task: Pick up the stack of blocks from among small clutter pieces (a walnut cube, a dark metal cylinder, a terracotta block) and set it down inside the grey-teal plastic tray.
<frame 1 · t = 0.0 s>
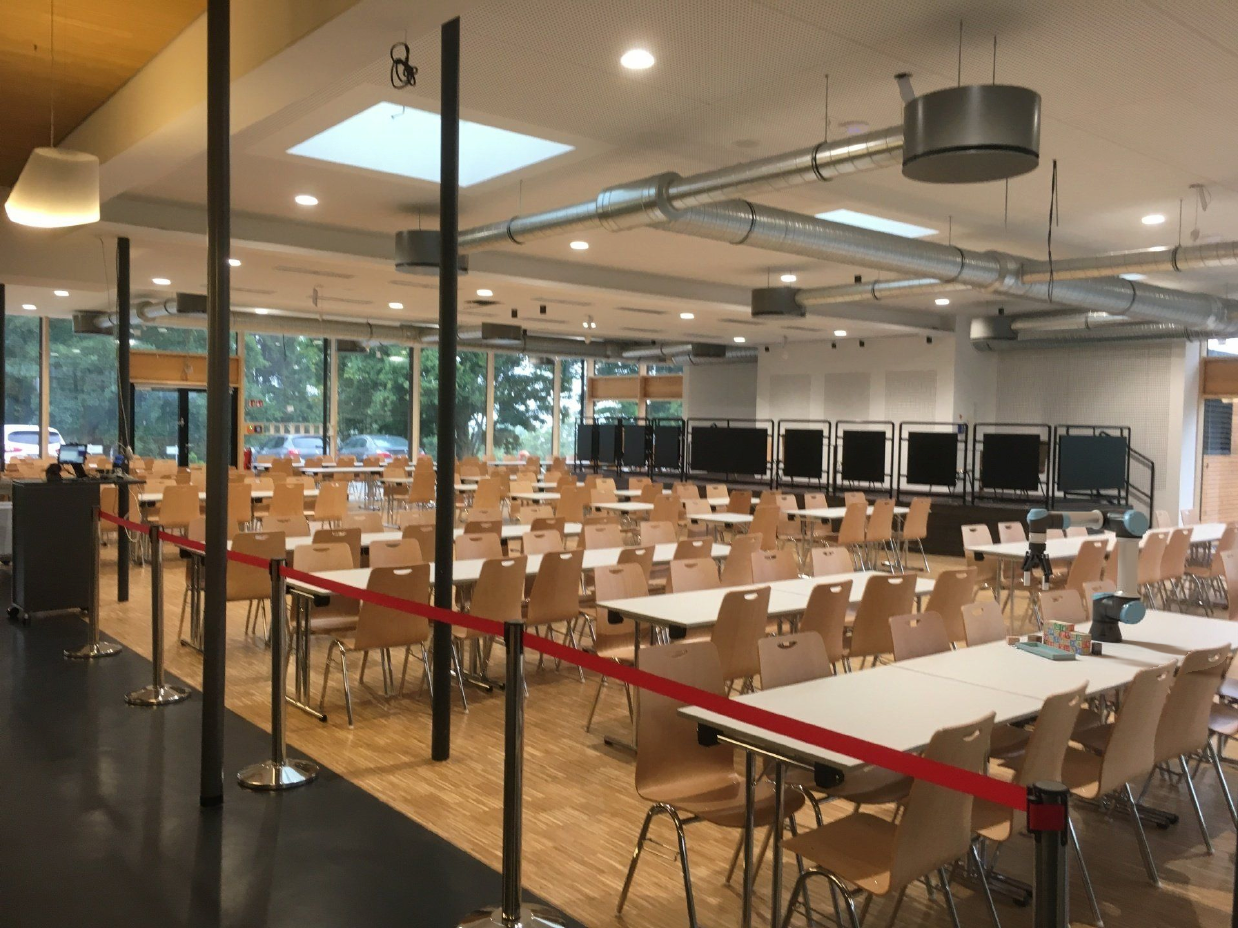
hand: (1036, 587, 456), 28 cm above the table, fingers open, 13 cm apart
stack of blocks: (1066, 650, 453), on the table
metal cylinder: (1096, 654, 445), on the table
walnut cube: (1034, 645, 463), on the table
tray: (1044, 653, 444), on the table
terracotta block: (1012, 645, 462), on the table
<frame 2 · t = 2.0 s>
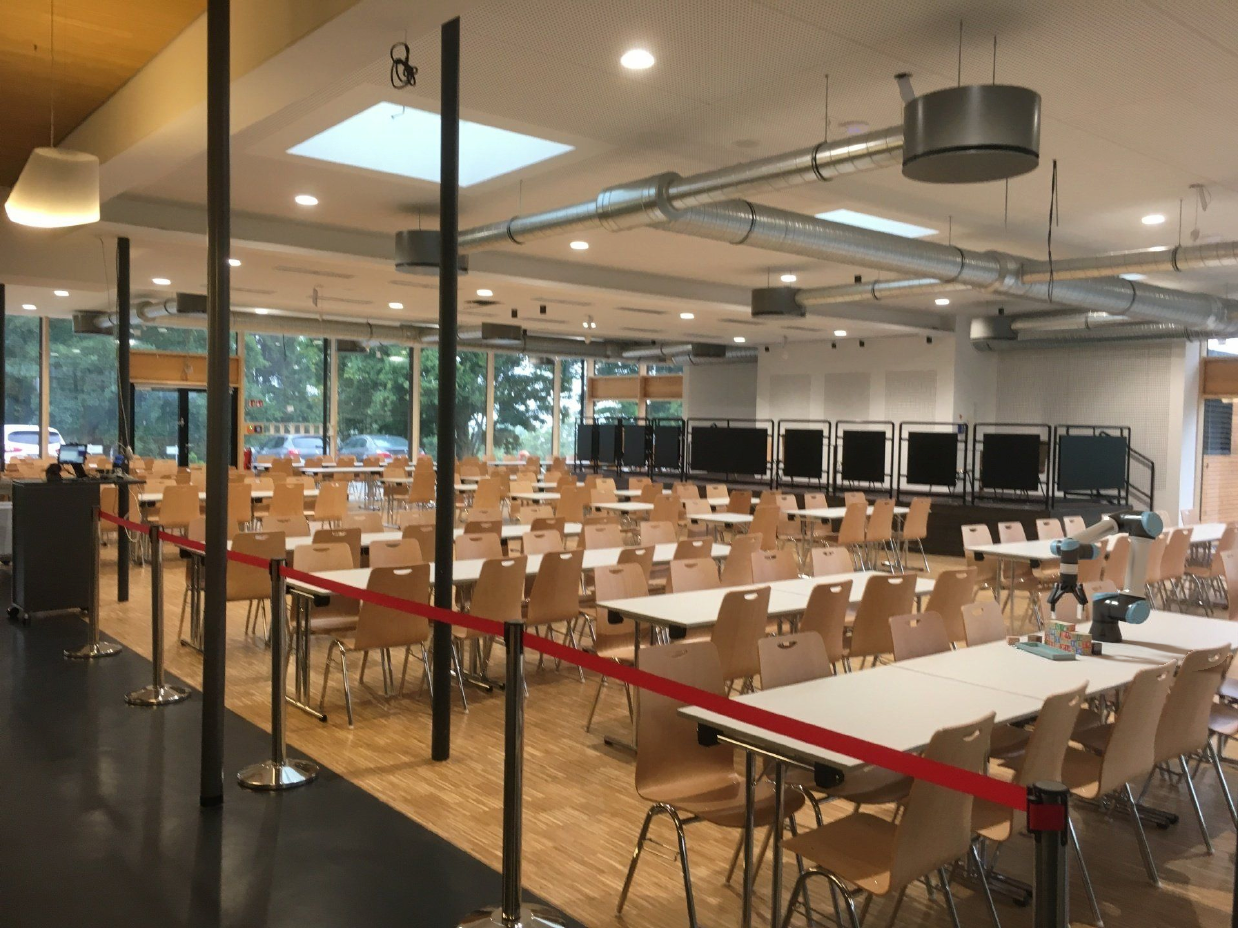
hand: (1066, 618, 453), 14 cm above the table, fingers open, 13 cm apart
nothing on the table moved.
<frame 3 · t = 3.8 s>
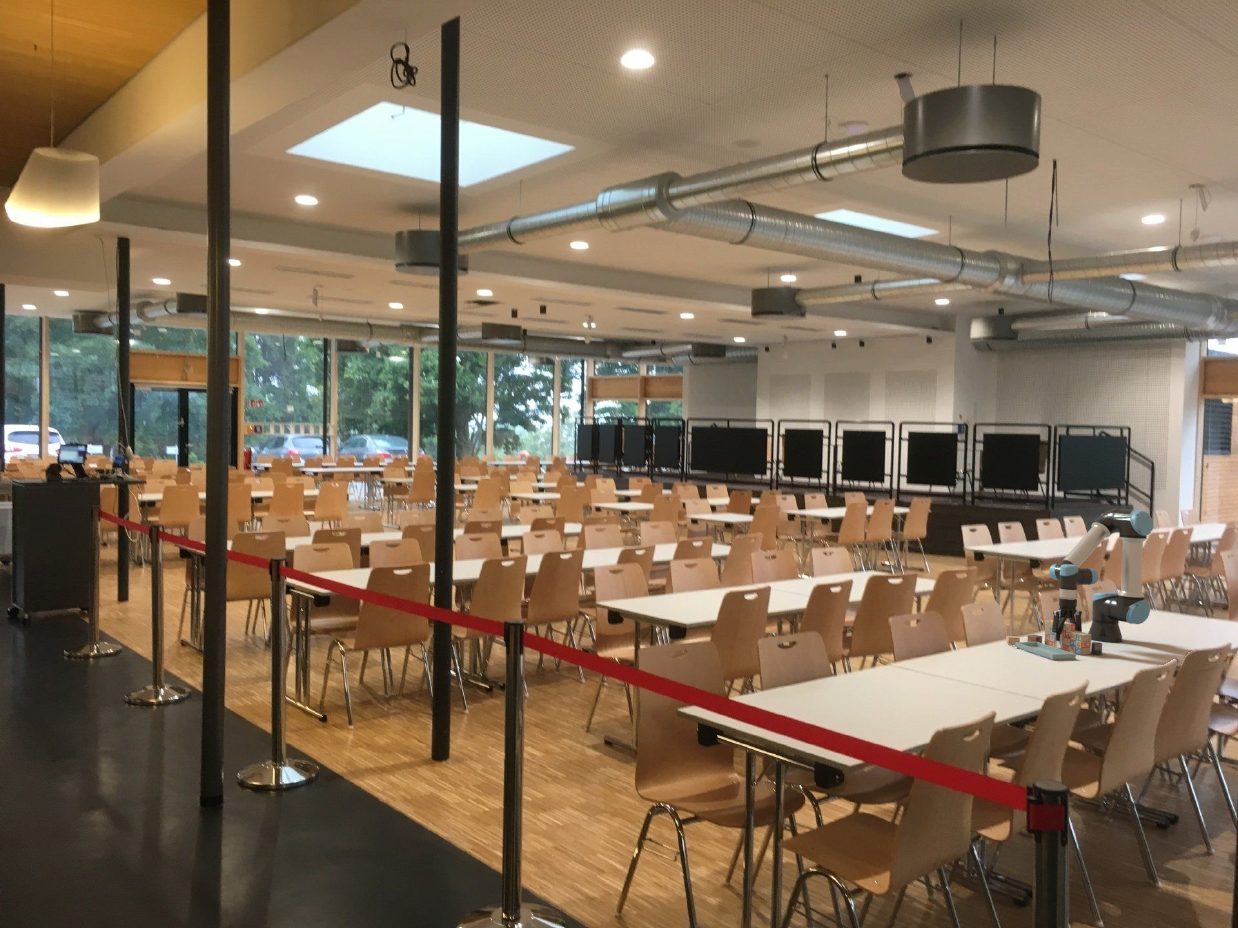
hand: (1066, 647, 453), 1 cm above the table, fingers closed on stack of blocks, 7 cm apart
stack of blocks: (1067, 650, 453), on the table, touching gripper
everything else where it was.
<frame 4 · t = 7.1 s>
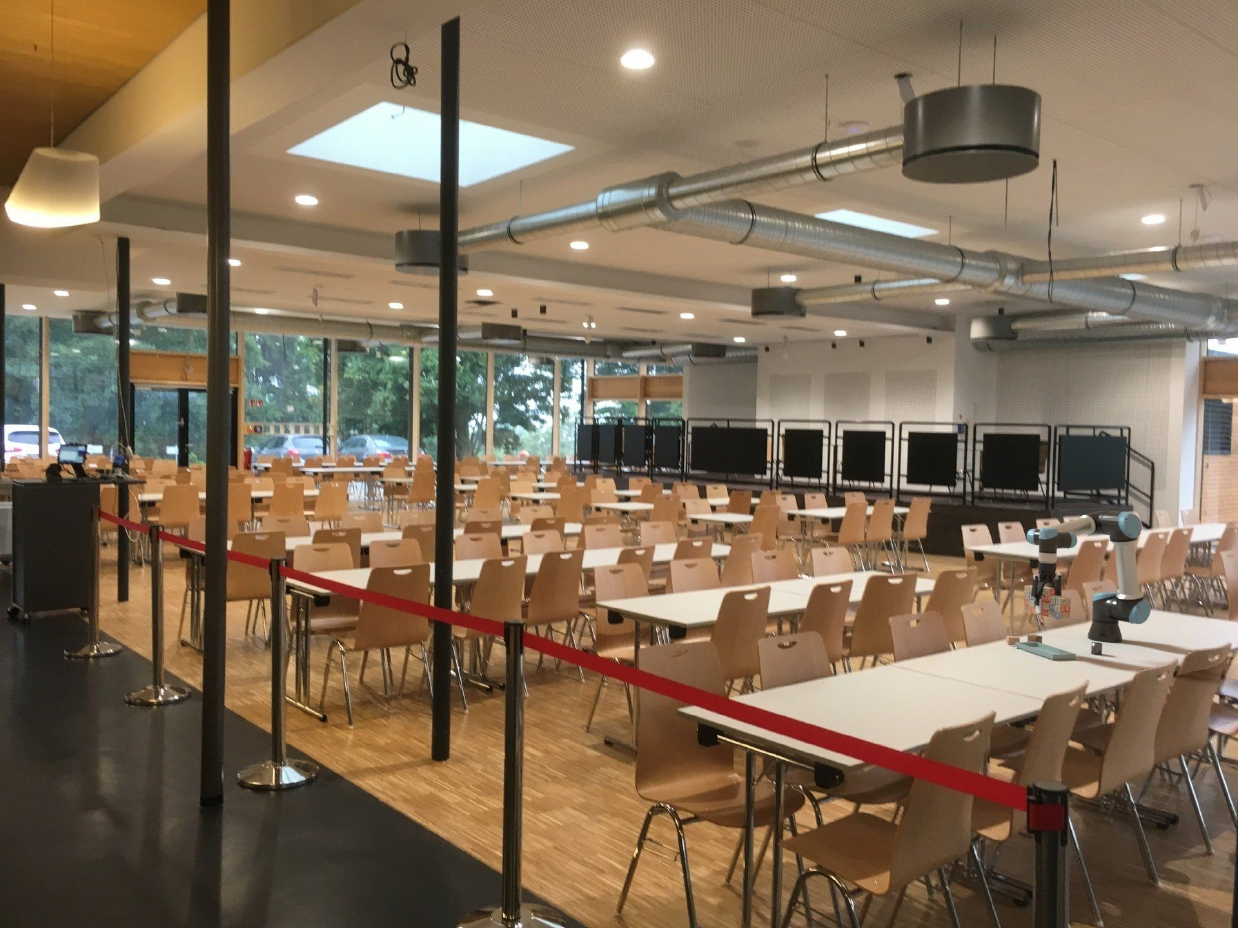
hand: (1045, 612, 443), 19 cm above the table, fingers closed on stack of blocks, 7 cm apart
stack of blocks: (1046, 615, 443), point 17 cm above the table, touching gripper
everything else where it was.
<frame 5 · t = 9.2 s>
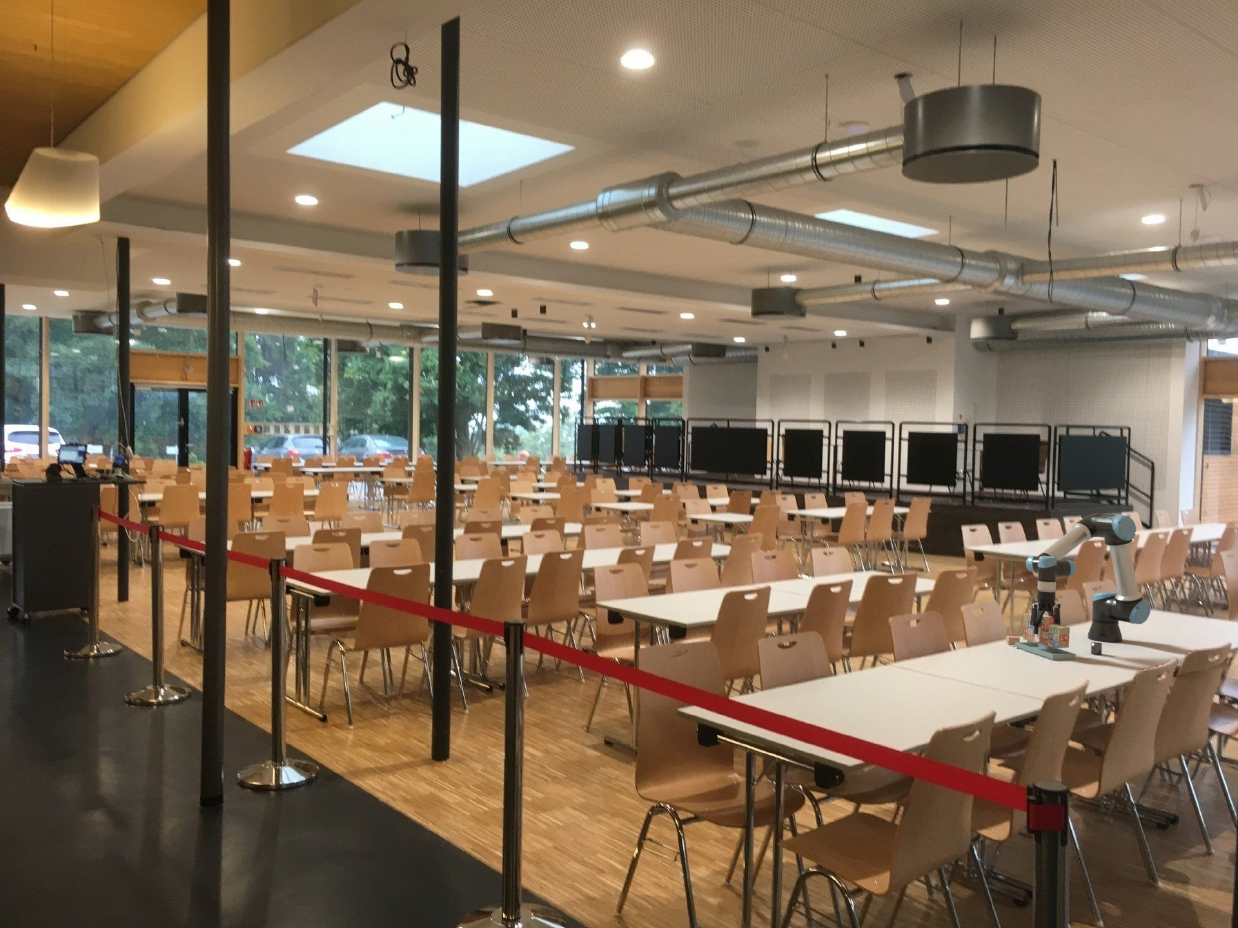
hand: (1044, 641, 444), 6 cm above the table, fingers closed on stack of blocks, 7 cm apart
stack of blocks: (1045, 644, 443), point 4 cm above the table, touching gripper
everything else where it was.
when the fingers open (3 cm above the table, at t = 10.6 s): stack of blocks drops 1 cm, resting on tray.
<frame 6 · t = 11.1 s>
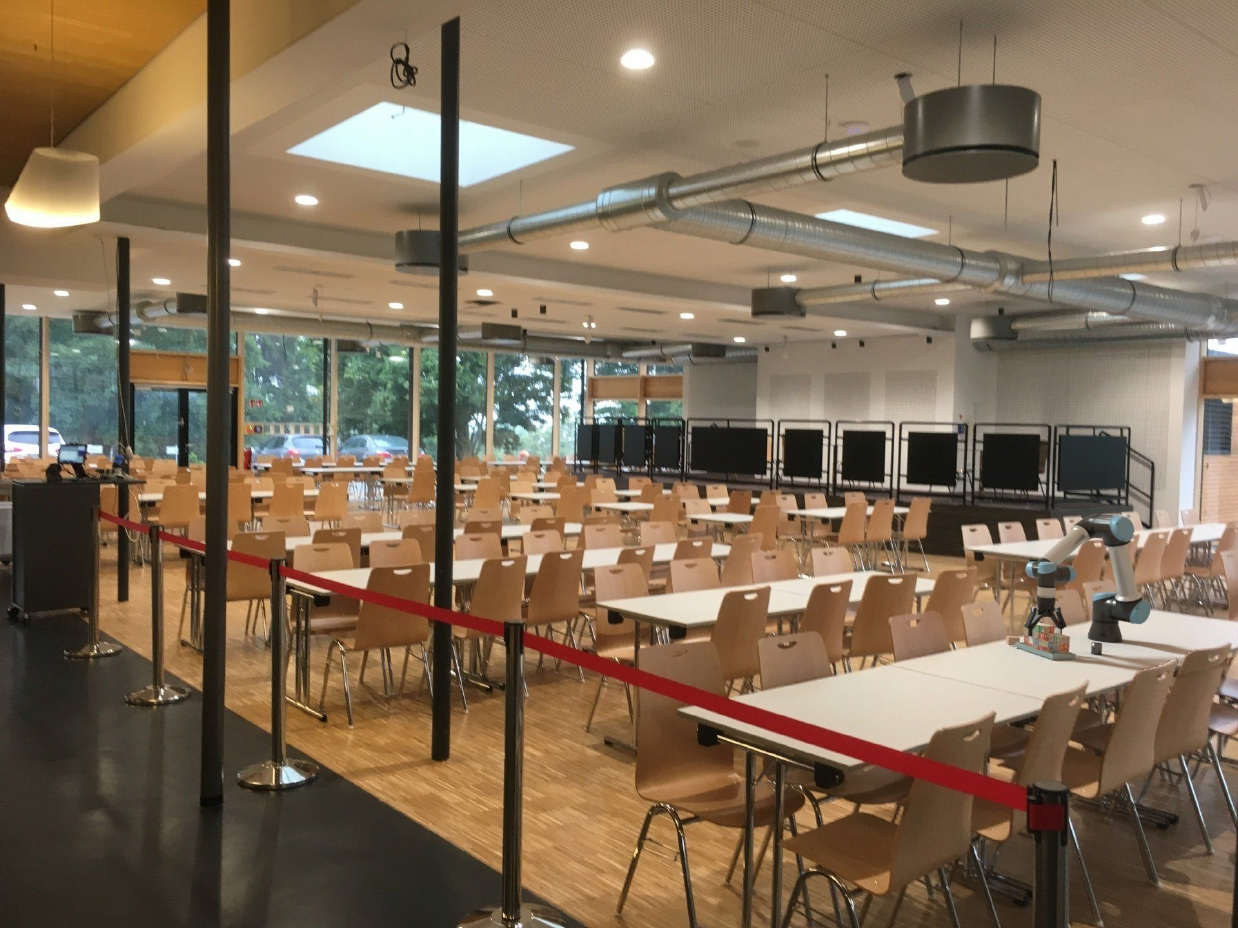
hand: (1044, 643, 444), 5 cm above the table, fingers open, 13 cm apart
stack of blocks: (1045, 652, 443), resting on tray
everything else where it was.
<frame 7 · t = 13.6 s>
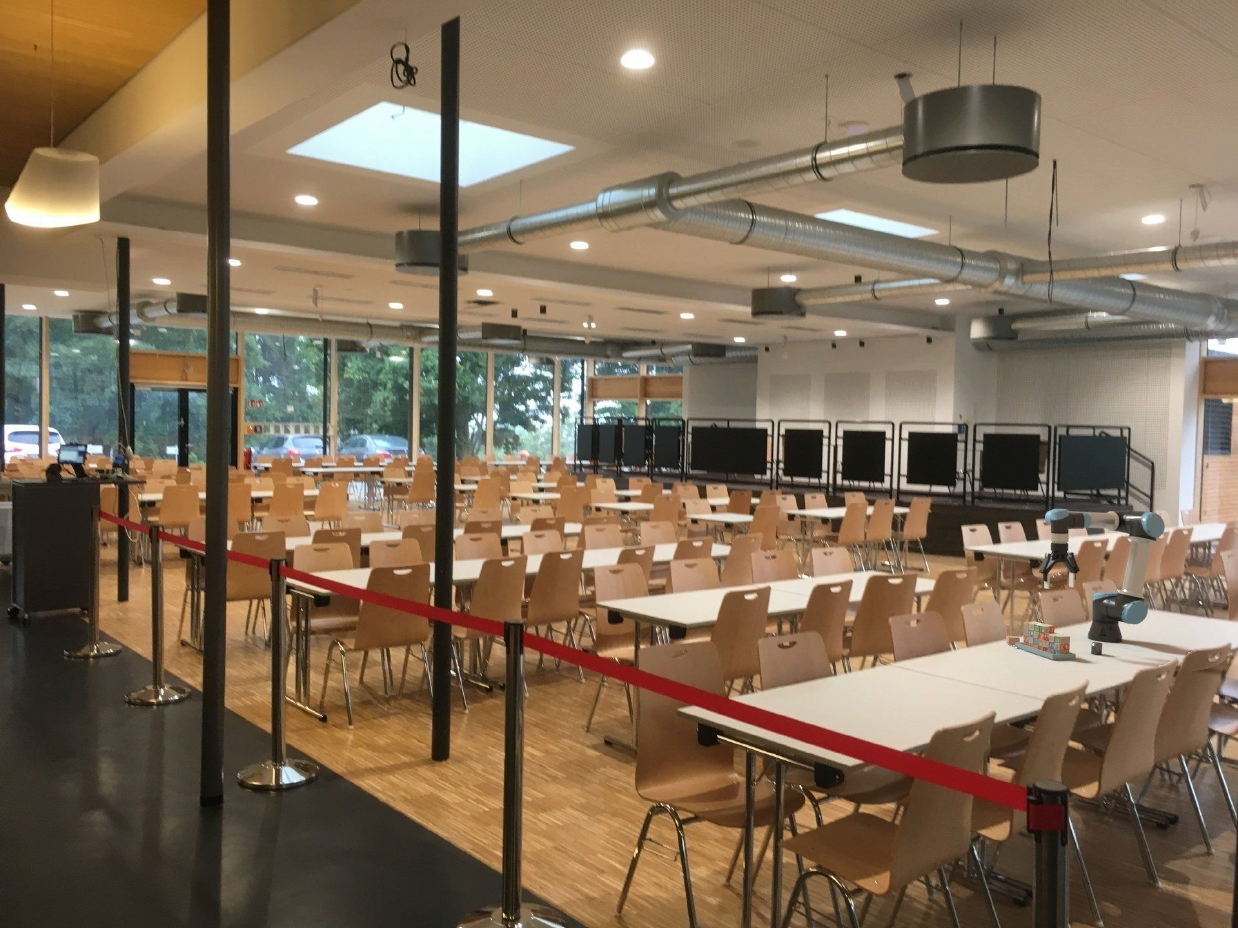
hand: (1059, 587, 456), 28 cm above the table, fingers open, 13 cm apart
nothing on the table moved.
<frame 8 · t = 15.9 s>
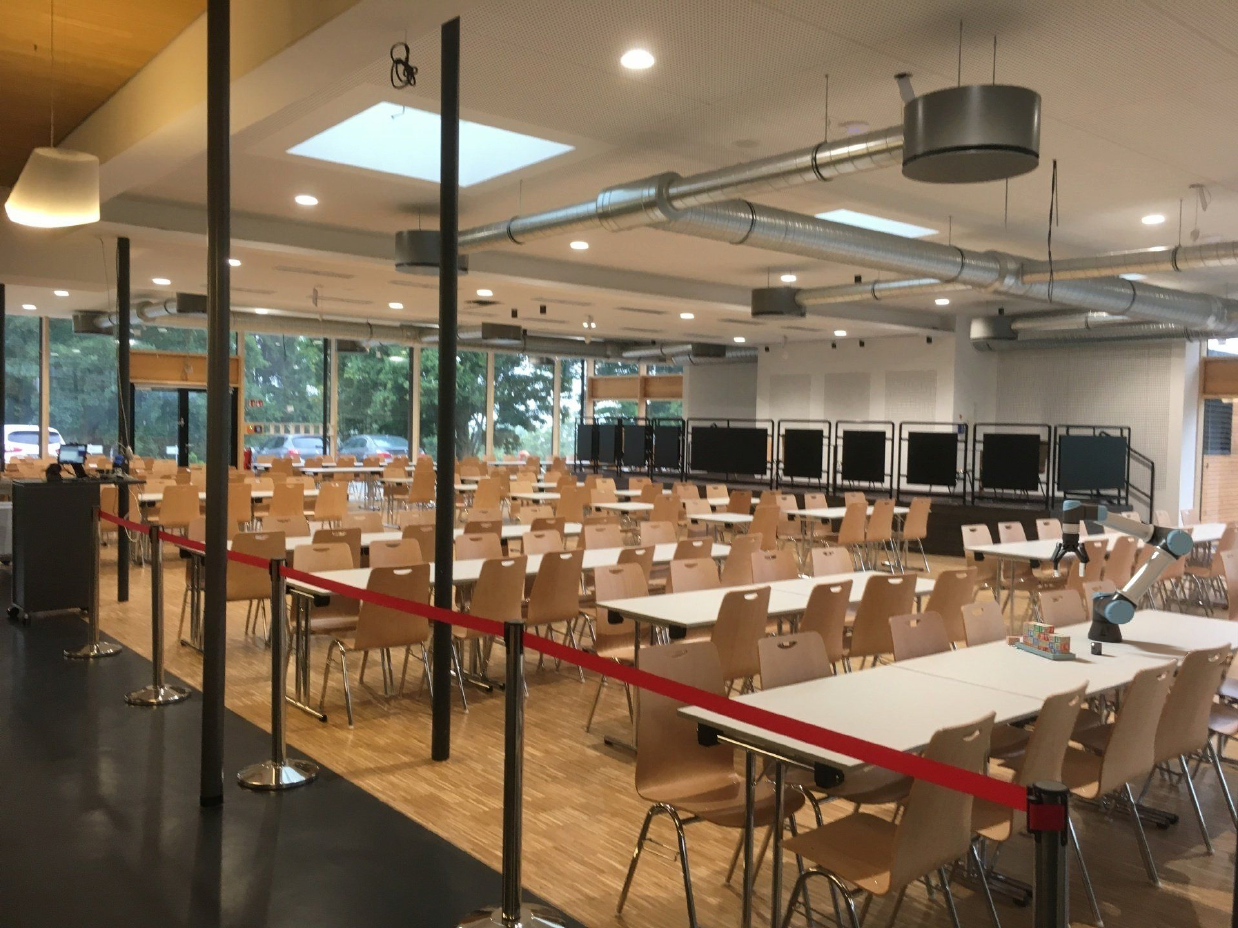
hand: (1069, 576, 470), 32 cm above the table, fingers open, 13 cm apart
nothing on the table moved.
at the end: stack of blocks inside the target area on the tray (0.8 cm from its centre), point 0.4 cm above the tray's base; stack of blocks tilted 0°; the gripper is holding nothing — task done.
